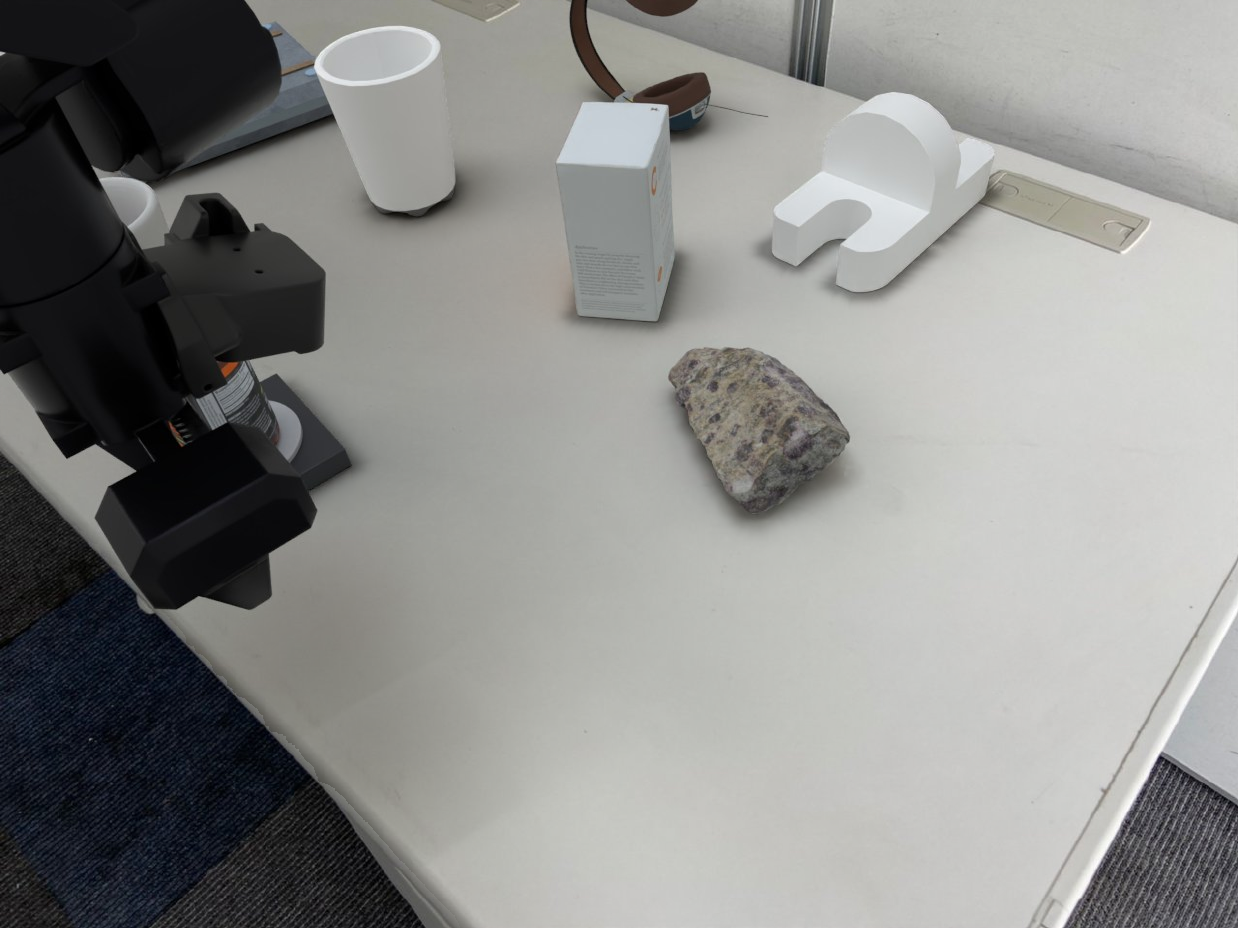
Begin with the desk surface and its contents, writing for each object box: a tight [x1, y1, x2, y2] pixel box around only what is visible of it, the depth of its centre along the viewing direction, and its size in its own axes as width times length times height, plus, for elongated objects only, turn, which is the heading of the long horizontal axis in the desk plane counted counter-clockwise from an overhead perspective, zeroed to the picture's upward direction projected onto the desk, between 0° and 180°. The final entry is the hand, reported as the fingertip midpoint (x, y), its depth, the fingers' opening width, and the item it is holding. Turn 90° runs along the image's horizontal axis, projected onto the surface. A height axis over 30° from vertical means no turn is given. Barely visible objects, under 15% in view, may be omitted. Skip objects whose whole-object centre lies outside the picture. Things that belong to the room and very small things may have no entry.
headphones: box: [568, 0, 769, 131], centre depth 85 cm, size 6×15×22 cm
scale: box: [173, 373, 352, 491], centre depth 64 cm, size 10×10×2 cm
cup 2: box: [314, 25, 456, 218], centre depth 81 cm, size 10×10×13 cm
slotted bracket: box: [771, 91, 996, 293], centre depth 74 cm, size 18×10×10 cm, turn 137°
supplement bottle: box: [169, 360, 279, 447], centre depth 59 cm, size 6×6×11 cm
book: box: [120, 21, 334, 184], centre depth 95 cm, size 21×16×5 cm
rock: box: [667, 346, 851, 515], centre depth 62 cm, size 13×6×10 cm
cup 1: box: [99, 176, 170, 249], centre depth 74 cm, size 13×9×9 cm
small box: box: [554, 101, 676, 322], centre depth 70 cm, size 8×6×13 cm
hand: (215, 538), depth 44 cm, fingers open, 9 cm apart
